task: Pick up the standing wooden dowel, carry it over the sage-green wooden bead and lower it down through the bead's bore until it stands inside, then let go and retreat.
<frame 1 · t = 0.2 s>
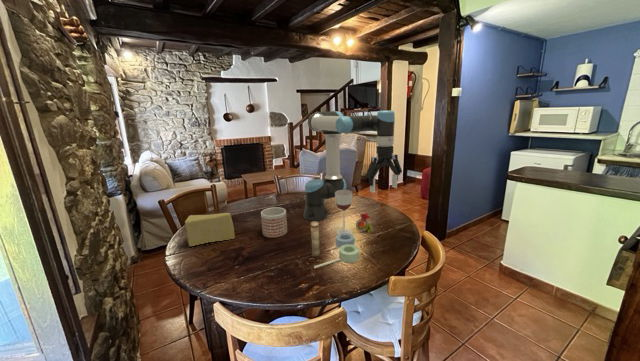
hand: (383, 189, 127), 28 cm above the table, fingers open, 13 cm apart
blue bead: (345, 244, 133), on the table
bead: (349, 257, 122), on the table
wineglass: (344, 232, 147), on the table
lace: (327, 264, 117), on the table
cheese: (213, 241, 141), on the table
planter: (275, 232, 149), on the table
red green lumpy piece: (364, 231, 147), on the table
wooden dowel: (315, 254, 125), on the table
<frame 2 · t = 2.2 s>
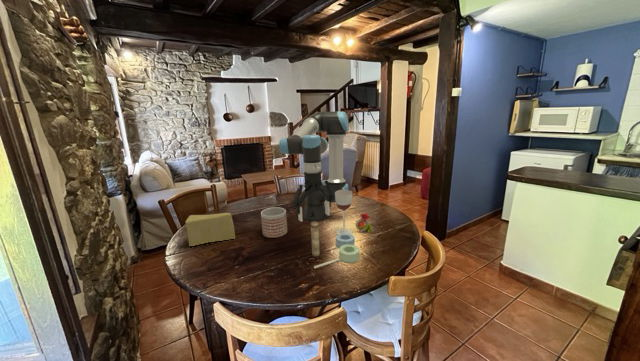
hand: (314, 217, 120), 19 cm above the table, fingers open, 13 cm apart
nothing on the table moved.
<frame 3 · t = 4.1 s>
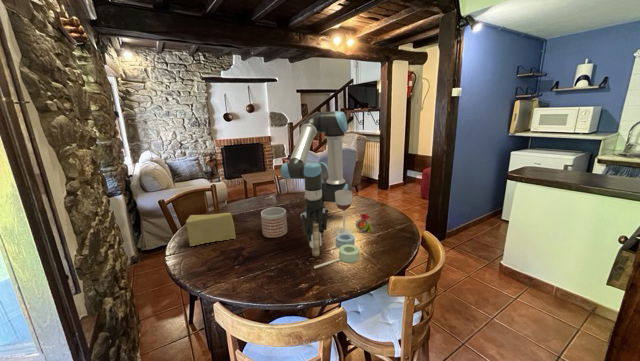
hand: (315, 245, 124), 5 cm above the table, fingers closed on wooden dowel, 3 cm apart
wooden dowel: (315, 254, 125), on the table, touching gripper
everything else where it was.
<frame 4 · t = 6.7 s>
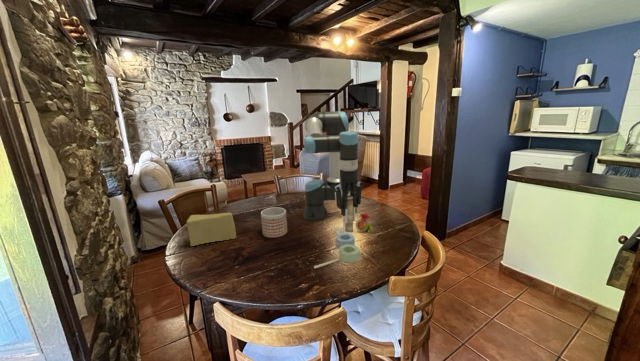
hand: (349, 221, 117), 18 cm above the table, fingers closed on wooden dowel, 3 cm apart
wooden dowel: (349, 230, 118), point 13 cm above the table, touching gripper
everything else where it was.
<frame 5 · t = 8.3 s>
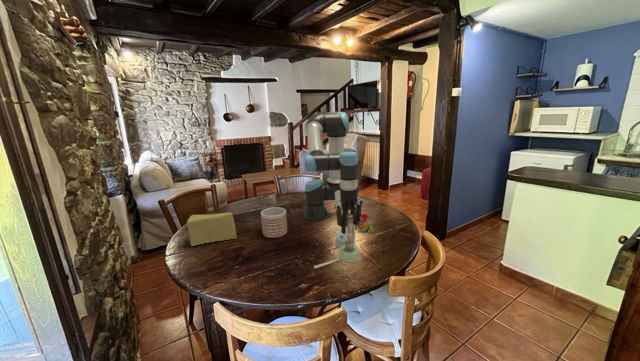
hand: (349, 238, 119), 10 cm above the table, fingers closed on wooden dowel, 3 cm apart
wooden dowel: (349, 247, 120), point 5 cm above the table, touching gripper
everything else where it was.
when the fingers open (7 cm above the table, at t = 9.7 s): wooden dowel drops 2 cm, resting in bead.
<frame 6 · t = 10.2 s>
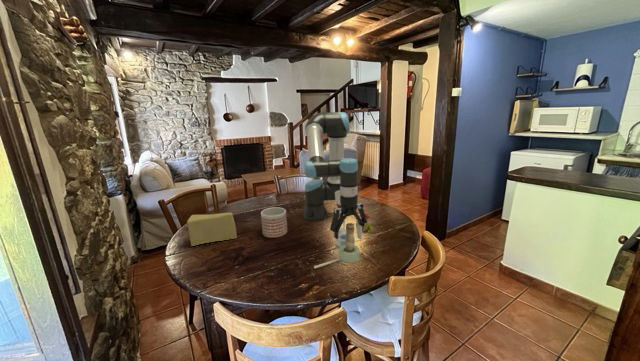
hand: (349, 241, 120), 8 cm above the table, fingers open, 11 cm apart
wooden dowel: (349, 257, 122), resting in bead
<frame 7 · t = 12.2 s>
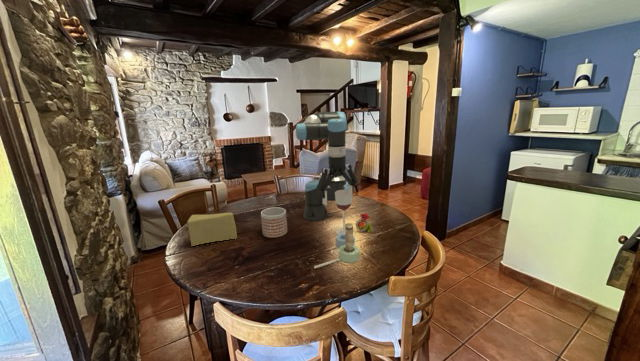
hand: (337, 201, 121), 25 cm above the table, fingers open, 13 cm apart
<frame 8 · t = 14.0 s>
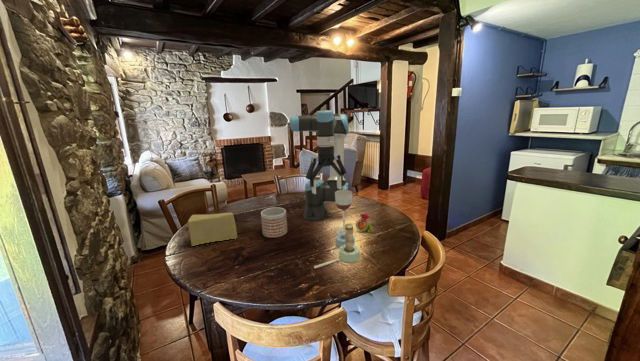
hand: (326, 190, 125), 29 cm above the table, fingers open, 13 cm apart
at the end: wooden dowel 0.0 cm off-centre on the bead, point 0.0 cm above the bead's base; wooden dowel tilted 0°; the gripper is holding nothing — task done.
